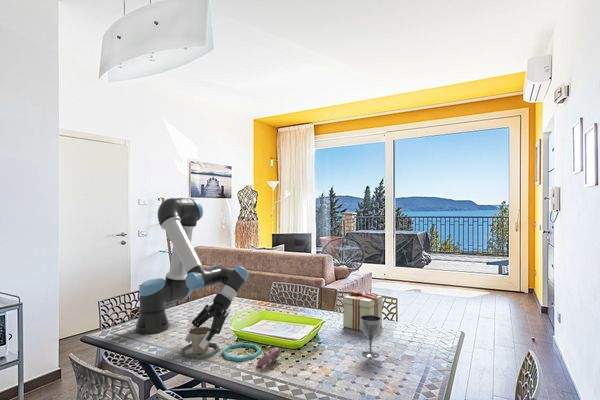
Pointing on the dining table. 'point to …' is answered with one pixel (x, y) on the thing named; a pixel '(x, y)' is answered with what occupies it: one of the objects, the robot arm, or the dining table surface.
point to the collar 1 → (200, 355)
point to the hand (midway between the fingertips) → (194, 344)
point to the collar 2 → (241, 357)
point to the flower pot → (198, 339)
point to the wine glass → (370, 332)
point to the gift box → (360, 308)
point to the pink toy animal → (269, 357)
